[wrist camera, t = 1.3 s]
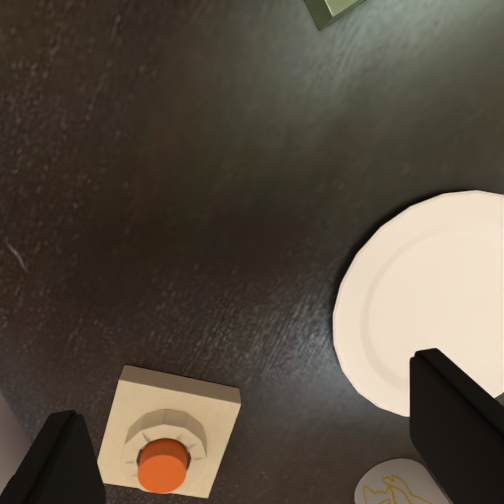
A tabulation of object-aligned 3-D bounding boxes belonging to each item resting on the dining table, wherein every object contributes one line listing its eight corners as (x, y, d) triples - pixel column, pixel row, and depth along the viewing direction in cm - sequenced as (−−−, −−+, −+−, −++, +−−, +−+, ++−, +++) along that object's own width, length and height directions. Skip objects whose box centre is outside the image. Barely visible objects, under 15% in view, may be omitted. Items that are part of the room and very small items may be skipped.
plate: (579, 192, 32) (599, 195, 30) (520, 403, 38) (535, 415, 36) (340, 183, 29) (348, 185, 28) (316, 411, 35) (321, 425, 33)
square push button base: (98, 460, 34) (85, 500, 30) (124, 364, 32) (113, 394, 28) (207, 477, 36) (207, 517, 32) (239, 388, 33) (243, 419, 30)
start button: (136, 471, 30) (132, 489, 29) (147, 434, 29) (143, 451, 28) (180, 478, 31) (179, 497, 29) (192, 441, 30) (191, 459, 28)
